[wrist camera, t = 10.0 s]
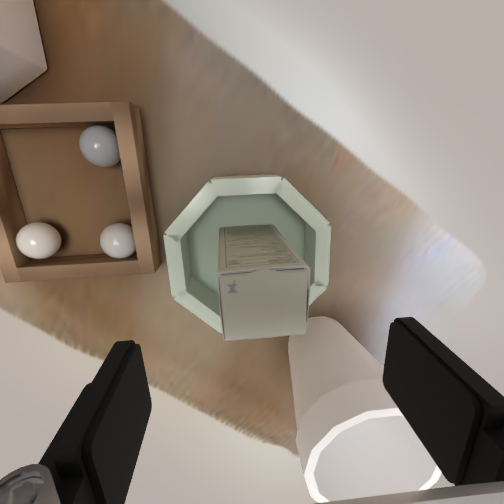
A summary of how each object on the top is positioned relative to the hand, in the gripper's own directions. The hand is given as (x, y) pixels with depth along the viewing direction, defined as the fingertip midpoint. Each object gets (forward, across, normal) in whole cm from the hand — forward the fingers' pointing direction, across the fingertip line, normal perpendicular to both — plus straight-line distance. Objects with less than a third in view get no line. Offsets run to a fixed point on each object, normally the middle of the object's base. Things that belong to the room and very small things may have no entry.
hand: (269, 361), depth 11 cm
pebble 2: (+17, +10, -8) cm, 22 cm away
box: (+16, 0, +1) cm, 16 cm away
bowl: (+17, 0, +1) cm, 17 cm away
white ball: (+17, +10, -1) cm, 20 cm away
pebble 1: (+15, +17, 0) cm, 22 cm away
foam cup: (+16, -7, +12) cm, 22 cm away
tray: (+17, +14, -4) cm, 22 cm away
